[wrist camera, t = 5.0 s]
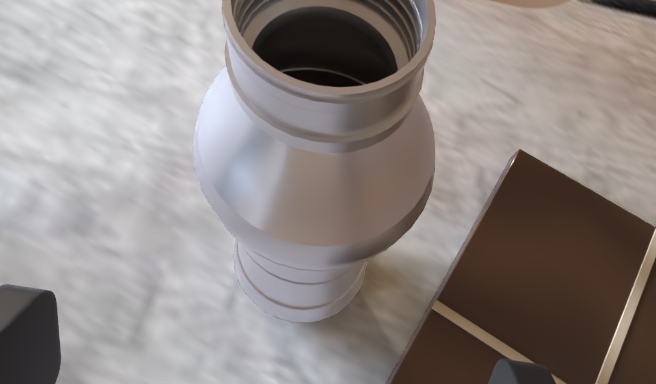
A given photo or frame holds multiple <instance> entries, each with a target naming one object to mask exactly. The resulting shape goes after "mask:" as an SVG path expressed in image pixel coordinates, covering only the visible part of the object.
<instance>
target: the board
mask: <svg viewBox="0 0 656 384" xmlns="http://www.w3.org/2000/svg"><path fill="white" fill-rule="evenodd" d="M500 359H509V360H516V361H522V362H529V363H535V364H542V365H544V366H546V367H547V368H548V370H549V371H550V373H551V375H552V377H553V379H554V381H555V383H556V384H656V227H654V226H652V225H650V224H649V223H647V222H645V221H643V220H642V219H640V218H638V217H637V216H635V215H633V214H631V213H630V212H628V211H626V210H624V209H623V208H621V207H619V206H618V205H616V204H614V203H612V202H611V201H609V200H607V199H605V198H604V197H602V196H600V195H599V194H597V193H595V192H593V191H592V190H590V189H588V188H586V187H585V186H583V185H581V184H580V183H578V182H576V181H574V180H573V179H571V178H569V177H567V176H566V175H564V174H562V173H561V172H559V171H557V170H555V169H554V168H552V167H550V166H548V165H547V164H545V163H543V162H542V161H540V160H538V159H536V158H535V157H533V156H531V155H529V154H528V153H526V152H524V151H523V150H521V149H519V150H518V151H517V152H516V153H515V154H514V155H513V156H512V157H511V158H510V160H509V162H508V164H507V166H506V167H505V169H504V171H503V173H502V175H501V177H500V178H499V180H498V182H497V184H496V186H495V187H494V189H493V191H492V193H491V195H490V196H489V198H488V200H487V202H486V204H485V205H484V207H483V209H482V211H481V213H480V214H479V216H478V218H477V220H476V222H475V223H474V225H473V227H472V229H471V231H470V233H469V234H468V236H467V238H466V240H465V242H464V243H463V245H462V247H461V249H460V251H459V252H458V254H457V256H456V258H455V260H454V261H453V263H452V265H451V267H450V269H449V270H448V272H447V274H446V276H445V278H444V279H443V281H442V283H441V285H440V287H439V289H438V290H437V292H436V294H435V296H434V298H433V299H432V301H431V303H430V305H429V307H428V308H427V310H426V312H425V314H424V316H423V317H422V319H421V321H420V323H419V325H418V326H417V328H416V330H415V332H414V334H413V336H412V337H411V339H410V341H409V343H408V345H407V346H406V348H405V350H404V352H403V354H402V355H401V357H400V359H399V361H398V363H397V364H396V366H395V368H394V370H393V372H392V373H391V375H390V377H389V379H388V381H387V382H386V384H488V383H489V380H490V377H491V374H492V372H493V369H494V367H495V364H496V363H497V361H498V360H500Z"/></svg>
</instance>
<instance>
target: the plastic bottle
mask: <svg viewBox="0 0 656 384" xmlns="http://www.w3.org/2000/svg"><path fill="white" fill-rule="evenodd" d="M222 1H223V3H222V15H223V23H224V29H225V34H226V45H225V59H226V67H225V68H224V69H223V70H222V71H221V72H220V73H219V74H218V75H217V77H216V78H215V80H214V81H213V83H212V84H211V86H210V87H209V89H208V90H207V93H206V95H205V98H204V101H203V103H202V106H201V109H200V112H199V115H198V119H197V123H196V128H195V135H194V142H193V153H194V165H195V170H196V174H197V177H198V180H199V183H200V186H201V190H202V192H203V193H204V195H205V197H206V199H207V200H208V202H209V204H210V206H211V208H212V209H213V211H214V212H215V214H216V215H217V217H218V219H219V220H220V221H221V222H222V224H223V225H224V226H225V227H226V228H227V229H228V231H229V232H230V233H231V234H232V235H233V236H234V237H235V244H234V254H233V257H234V267H235V271H236V274H237V277H238V281H239V283H240V284H241V286H242V288H243V290H244V292H245V293H246V294H247V296H248V297H249V298H250V299H251V300H252V301H253V303H254V304H256V305H257V306H258V307H259V308H261V309H262V310H263V311H264V312H266V313H268V314H270V315H272V316H274V317H276V318H279V319H282V320H286V321H289V322H299V323H307V322H315V321H320V320H323V319H325V318H328V317H331V316H333V315H334V314H336V313H338V312H339V311H341V310H342V309H343V308H344V307H346V306H347V305H348V304H349V303H350V302H351V301H352V299H353V298H354V297H355V295H356V294H357V292H358V291H359V289H360V286H361V284H362V282H363V279H364V275H365V270H366V264H367V261H368V260H369V259H371V258H373V257H375V256H376V255H378V254H380V253H382V252H383V251H385V250H386V249H388V248H389V247H390V246H391V245H393V244H394V243H395V242H396V241H397V240H398V239H399V238H401V237H402V236H403V235H404V234H405V233H406V232H407V231H408V230H409V229H410V228H411V227H412V226H413V224H414V223H415V221H416V220H417V219H418V217H419V216H420V214H421V213H422V211H423V210H424V207H425V205H426V203H427V200H428V198H429V195H430V193H431V190H432V184H433V178H434V172H435V140H434V131H433V127H432V123H431V120H430V116H429V113H428V111H427V109H426V107H425V105H424V103H423V101H422V99H421V97H420V95H419V92H420V90H421V86H422V80H423V75H424V66H425V63H426V61H427V58H428V56H429V54H430V51H431V49H432V45H433V39H434V34H435V25H436V16H435V5H434V2H433V0H222Z"/></svg>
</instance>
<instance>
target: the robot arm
mask: <svg viewBox="0 0 656 384" xmlns="http://www.w3.org/2000/svg"><path fill="white" fill-rule="evenodd" d="M60 364H61V352H60V340H59V327H58V315H57V303H56V298H55V295H54V293H53V292H51V291H48V290H42V289H35V288H29V287H22V286H16V285H9V284H6V285H2V286H0V384H55V382H56V379H57V377H58V373H59V369H60ZM488 384H556V383H555V381H554V379H553V377H552V375H551V373H550V371H549V370H548V368H547V367H546V366H544V365H542V364H535V363H529V362H522V361H516V360H509V359H500V360H498V361H497V363H496V364H495V367H494V369H493V372H492V374H491V377H490V380H489V383H488Z"/></svg>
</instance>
